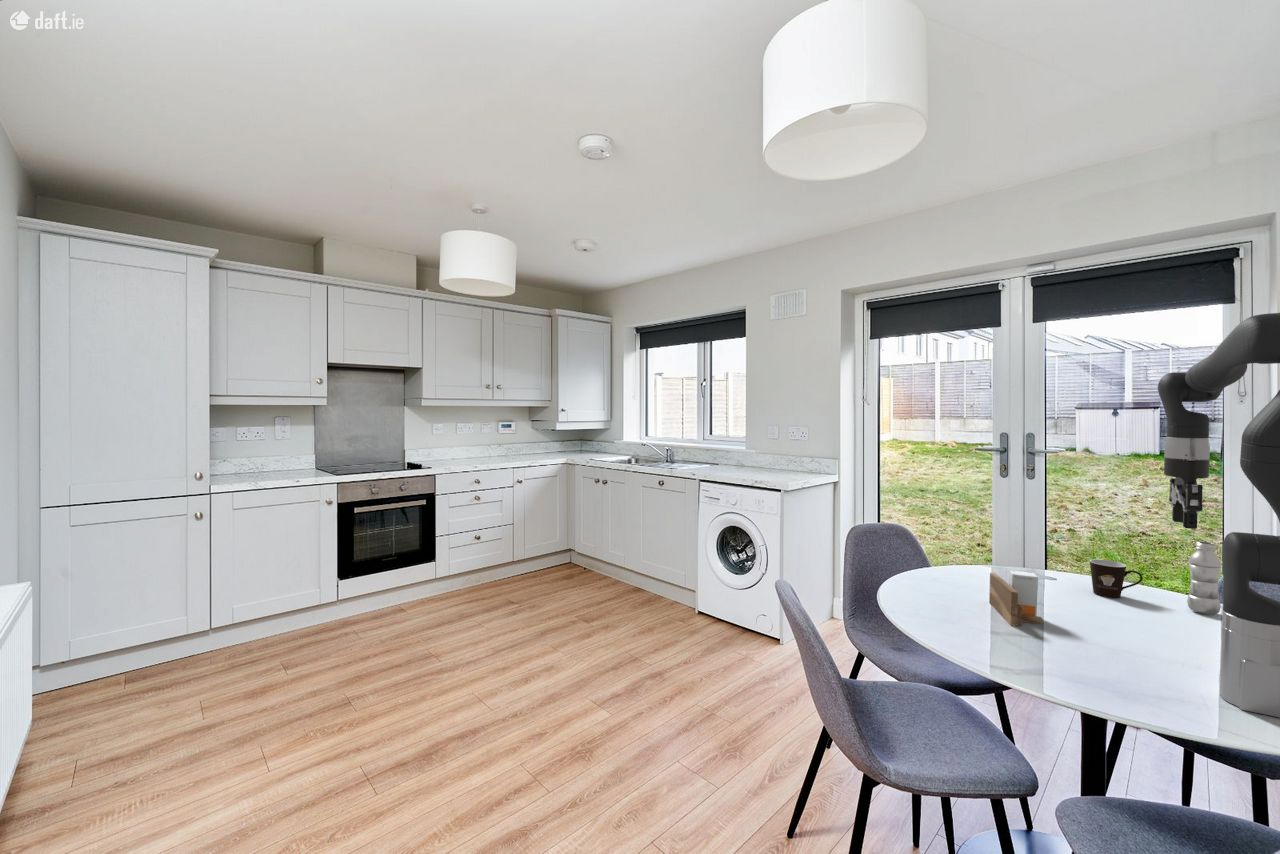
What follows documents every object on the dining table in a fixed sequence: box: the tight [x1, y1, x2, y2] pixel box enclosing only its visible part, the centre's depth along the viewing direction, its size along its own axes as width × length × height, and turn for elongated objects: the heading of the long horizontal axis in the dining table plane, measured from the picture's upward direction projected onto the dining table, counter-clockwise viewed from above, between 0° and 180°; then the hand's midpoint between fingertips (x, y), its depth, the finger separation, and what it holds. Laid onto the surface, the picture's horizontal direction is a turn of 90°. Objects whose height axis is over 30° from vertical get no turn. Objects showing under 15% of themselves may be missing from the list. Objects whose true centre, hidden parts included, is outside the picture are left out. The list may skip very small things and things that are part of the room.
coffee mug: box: [1089, 558, 1144, 600], centre depth 167 cm, size 12×9×10 cm
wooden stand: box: [988, 572, 1043, 627], centre depth 151 cm, size 8×18×9 cm, turn 163°
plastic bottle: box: [1186, 541, 1223, 616], centre depth 153 cm, size 6×7×20 cm
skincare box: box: [1008, 570, 1039, 616], centre depth 151 cm, size 6×4×12 cm
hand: (1184, 525), depth 128 cm, fingers open, 8 cm apart
